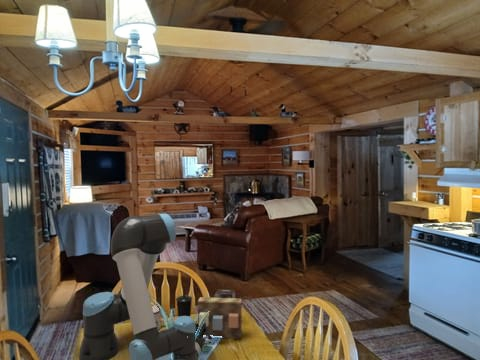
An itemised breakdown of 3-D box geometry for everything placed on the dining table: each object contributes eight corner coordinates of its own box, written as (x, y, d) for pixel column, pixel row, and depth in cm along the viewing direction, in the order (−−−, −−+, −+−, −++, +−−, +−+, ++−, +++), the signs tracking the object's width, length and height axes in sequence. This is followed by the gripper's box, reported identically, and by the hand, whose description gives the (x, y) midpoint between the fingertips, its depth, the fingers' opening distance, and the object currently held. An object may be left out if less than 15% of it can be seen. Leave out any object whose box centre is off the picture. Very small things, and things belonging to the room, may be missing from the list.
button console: (198, 337, 157) (198, 300, 156) (201, 331, 163) (200, 295, 162) (240, 339, 155) (240, 302, 154) (241, 332, 161) (241, 297, 161)
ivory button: (198, 326, 153) (198, 315, 153) (202, 318, 161) (202, 307, 161) (208, 326, 153) (207, 315, 153) (211, 318, 161) (211, 308, 161)
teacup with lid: (139, 332, 162) (139, 307, 161) (143, 323, 171) (143, 300, 170) (166, 331, 162) (166, 306, 162) (168, 323, 172) (168, 299, 171)
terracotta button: (228, 327, 152) (228, 316, 152) (230, 319, 160) (230, 308, 160) (237, 328, 152) (237, 316, 152) (239, 319, 160) (239, 309, 160)
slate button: (212, 330, 150) (212, 318, 150) (215, 321, 158) (215, 310, 158) (221, 330, 150) (221, 318, 150) (224, 322, 158) (224, 311, 158)
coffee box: (236, 322, 172) (236, 289, 171) (233, 328, 166) (232, 294, 165) (218, 320, 174) (218, 288, 173) (214, 326, 168) (214, 293, 167)
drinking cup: (188, 321, 173) (188, 281, 172) (195, 327, 166) (194, 286, 165) (173, 325, 169) (173, 284, 168) (179, 332, 162) (179, 289, 161)
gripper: (173, 358, 130) (188, 329, 154) (208, 360, 129) (218, 330, 152) (173, 338, 130) (188, 312, 153) (208, 340, 129) (218, 313, 152)
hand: (203, 321), depth 153 cm, fingers closed
